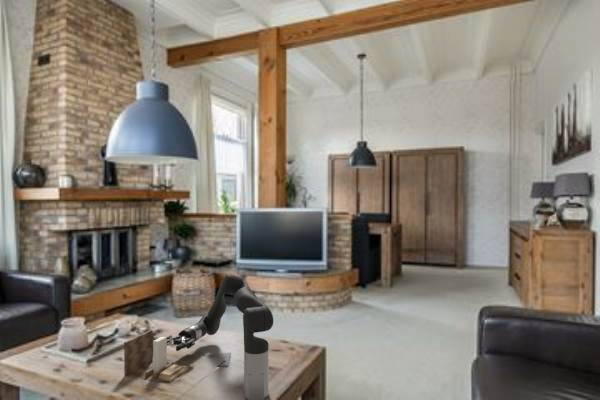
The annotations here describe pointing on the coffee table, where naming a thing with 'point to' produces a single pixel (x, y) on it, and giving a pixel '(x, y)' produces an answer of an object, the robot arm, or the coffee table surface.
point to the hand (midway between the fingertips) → (168, 347)
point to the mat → (219, 356)
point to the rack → (148, 361)
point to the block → (159, 354)
